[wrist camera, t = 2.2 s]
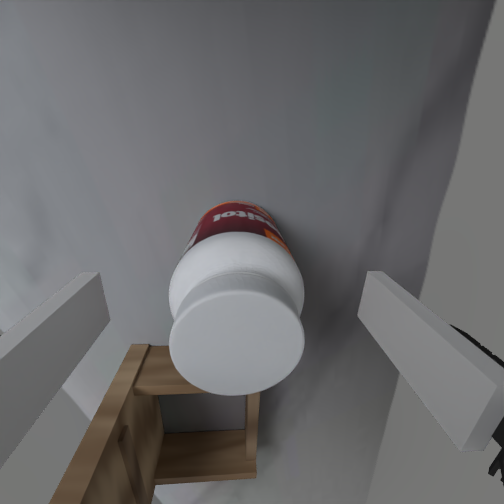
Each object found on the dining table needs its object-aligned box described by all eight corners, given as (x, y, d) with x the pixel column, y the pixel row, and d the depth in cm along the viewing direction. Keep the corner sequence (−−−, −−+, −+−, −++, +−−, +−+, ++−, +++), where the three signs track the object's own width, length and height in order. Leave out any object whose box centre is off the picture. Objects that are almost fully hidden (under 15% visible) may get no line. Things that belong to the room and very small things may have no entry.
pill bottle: (291, 217, 18) (365, 307, 8) (257, 284, 20) (281, 424, 10) (211, 183, 17) (177, 239, 7) (184, 259, 19) (126, 391, 9)
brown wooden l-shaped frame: (131, 344, 22) (25, 549, 11) (258, 341, 22) (281, 527, 11) (152, 441, 27) (95, 642, 16) (253, 435, 28) (265, 623, 17)
